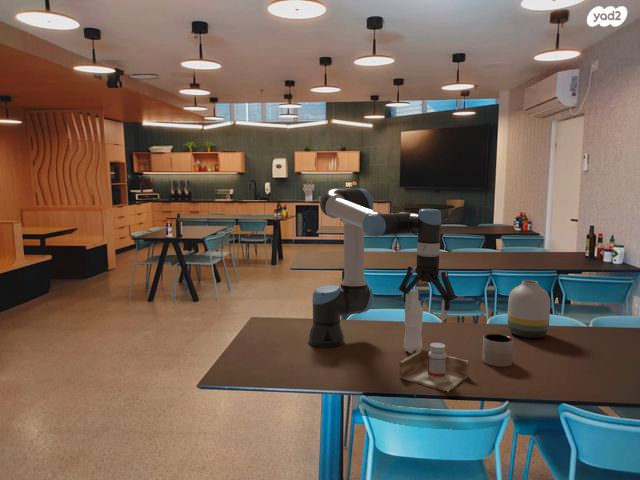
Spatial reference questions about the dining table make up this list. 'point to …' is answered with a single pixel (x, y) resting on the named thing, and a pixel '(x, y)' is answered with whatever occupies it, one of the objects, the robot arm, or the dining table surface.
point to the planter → (497, 350)
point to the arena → (417, 371)
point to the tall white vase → (413, 324)
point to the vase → (528, 310)
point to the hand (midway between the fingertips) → (425, 315)
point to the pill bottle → (437, 361)
